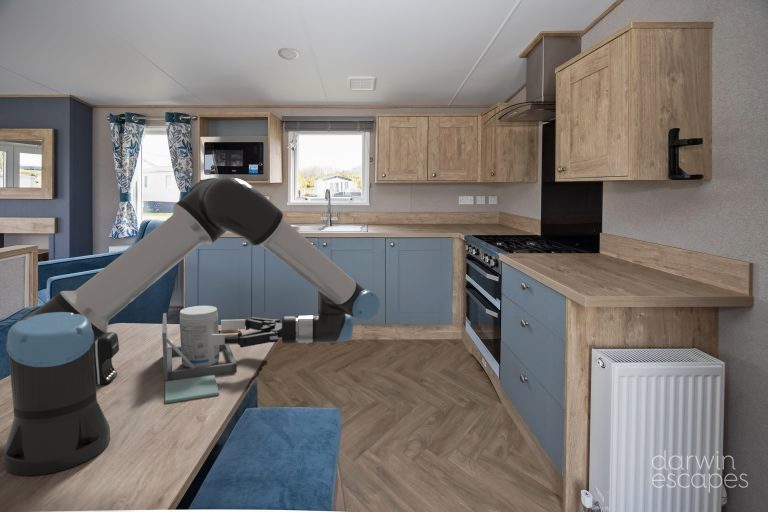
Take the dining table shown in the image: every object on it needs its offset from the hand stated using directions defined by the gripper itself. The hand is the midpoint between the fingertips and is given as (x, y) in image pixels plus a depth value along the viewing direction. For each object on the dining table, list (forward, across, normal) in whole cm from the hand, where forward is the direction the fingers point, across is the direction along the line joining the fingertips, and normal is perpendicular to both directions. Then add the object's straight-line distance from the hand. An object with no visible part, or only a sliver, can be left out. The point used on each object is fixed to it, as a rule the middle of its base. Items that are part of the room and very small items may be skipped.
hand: (216, 331), depth 123 cm
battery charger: (+23, -10, -8) cm, 27 cm away
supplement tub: (+4, 0, -8) cm, 9 cm away
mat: (+2, -18, -8) cm, 20 cm away
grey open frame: (+4, 0, -8) cm, 9 cm away
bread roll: (0, +22, -9) cm, 23 cm away
